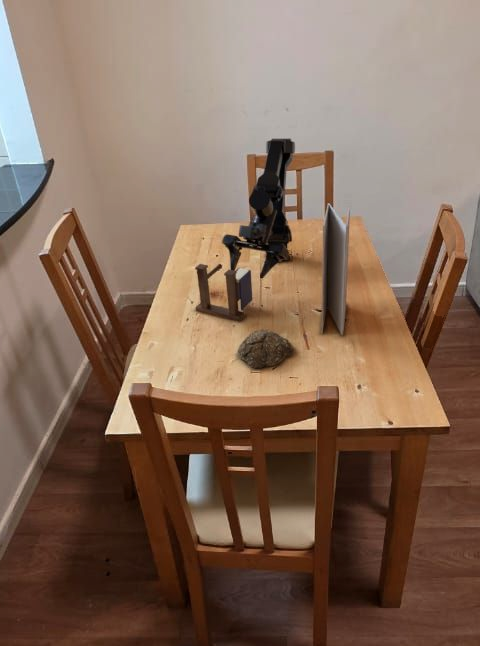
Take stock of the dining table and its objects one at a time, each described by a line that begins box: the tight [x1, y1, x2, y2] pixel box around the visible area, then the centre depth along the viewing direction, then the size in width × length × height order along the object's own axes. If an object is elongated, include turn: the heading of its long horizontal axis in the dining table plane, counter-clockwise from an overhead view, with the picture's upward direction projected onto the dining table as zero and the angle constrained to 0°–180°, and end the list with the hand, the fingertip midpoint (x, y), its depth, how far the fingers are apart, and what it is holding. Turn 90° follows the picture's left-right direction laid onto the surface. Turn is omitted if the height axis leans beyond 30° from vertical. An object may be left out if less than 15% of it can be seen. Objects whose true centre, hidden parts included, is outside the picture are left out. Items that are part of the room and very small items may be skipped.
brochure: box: [320, 202, 351, 336], centre depth 141 cm, size 14×6×30 cm, turn 168°
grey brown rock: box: [237, 328, 293, 369], centre depth 136 cm, size 13×12×5 cm
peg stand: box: [194, 263, 249, 322], centre depth 154 cm, size 11×14×14 cm
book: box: [235, 267, 253, 311], centre depth 153 cm, size 6×4×10 cm, turn 152°
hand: (246, 275), depth 154 cm, fingers open, 9 cm apart
